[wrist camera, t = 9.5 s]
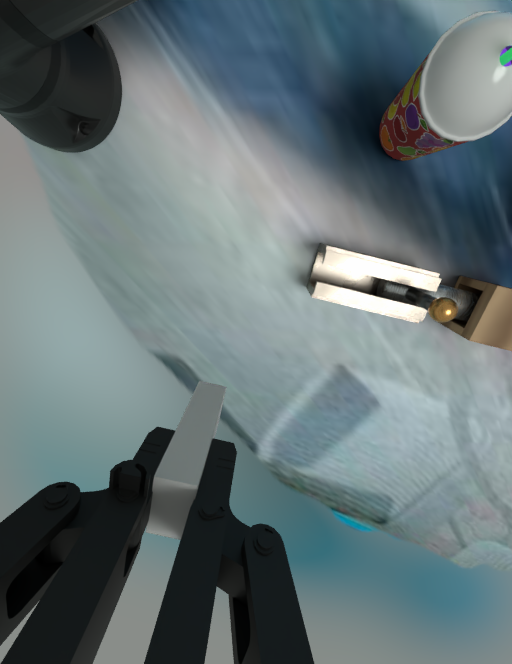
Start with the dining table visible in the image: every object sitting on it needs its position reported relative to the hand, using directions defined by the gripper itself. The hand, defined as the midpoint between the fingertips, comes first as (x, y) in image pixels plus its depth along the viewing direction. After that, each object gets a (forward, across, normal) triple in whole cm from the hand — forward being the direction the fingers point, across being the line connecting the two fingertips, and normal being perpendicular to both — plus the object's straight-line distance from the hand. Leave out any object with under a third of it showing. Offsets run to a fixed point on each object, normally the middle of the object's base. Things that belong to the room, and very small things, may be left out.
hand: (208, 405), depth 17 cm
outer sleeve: (+29, +15, +6) cm, 34 cm away
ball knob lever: (+28, +25, +6) cm, 38 cm away
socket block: (+29, +31, +6) cm, 43 cm away
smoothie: (+30, +14, +24) cm, 40 cm away
